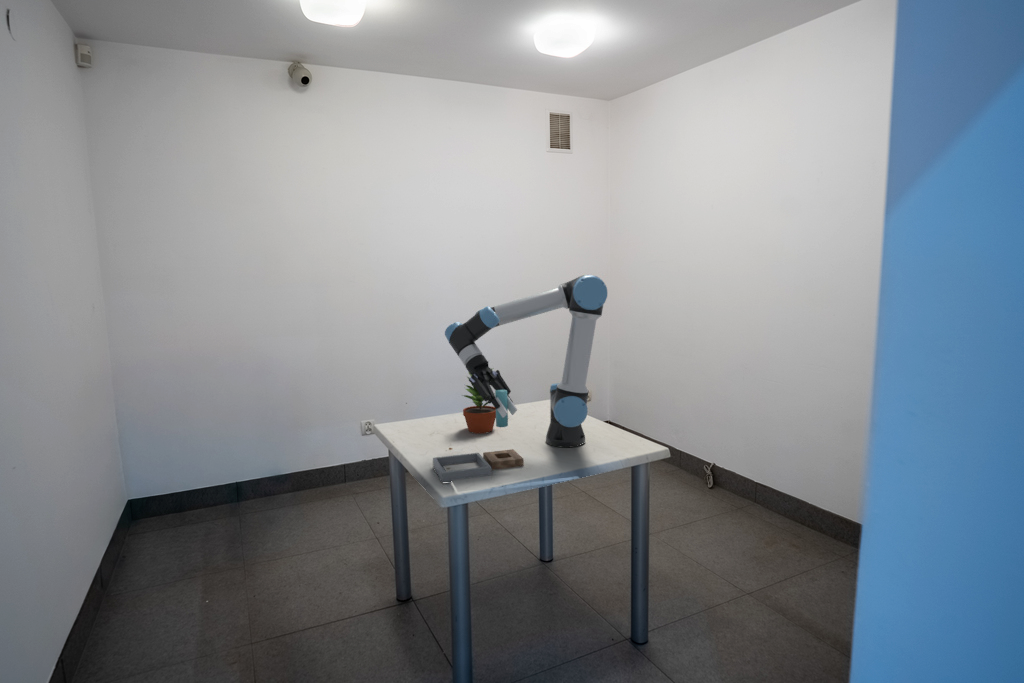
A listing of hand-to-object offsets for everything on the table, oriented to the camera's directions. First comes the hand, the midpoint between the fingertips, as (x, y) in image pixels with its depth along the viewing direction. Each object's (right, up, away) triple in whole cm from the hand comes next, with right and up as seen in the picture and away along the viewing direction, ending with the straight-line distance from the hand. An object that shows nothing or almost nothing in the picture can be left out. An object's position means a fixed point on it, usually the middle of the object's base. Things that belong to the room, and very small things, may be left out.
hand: (510, 413), depth 189 cm
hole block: (-2, -18, +5) cm, 19 cm away
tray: (-16, -19, -2) cm, 25 cm away
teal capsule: (-3, -4, +3) cm, 6 cm away
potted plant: (-13, -13, +49) cm, 53 cm away
